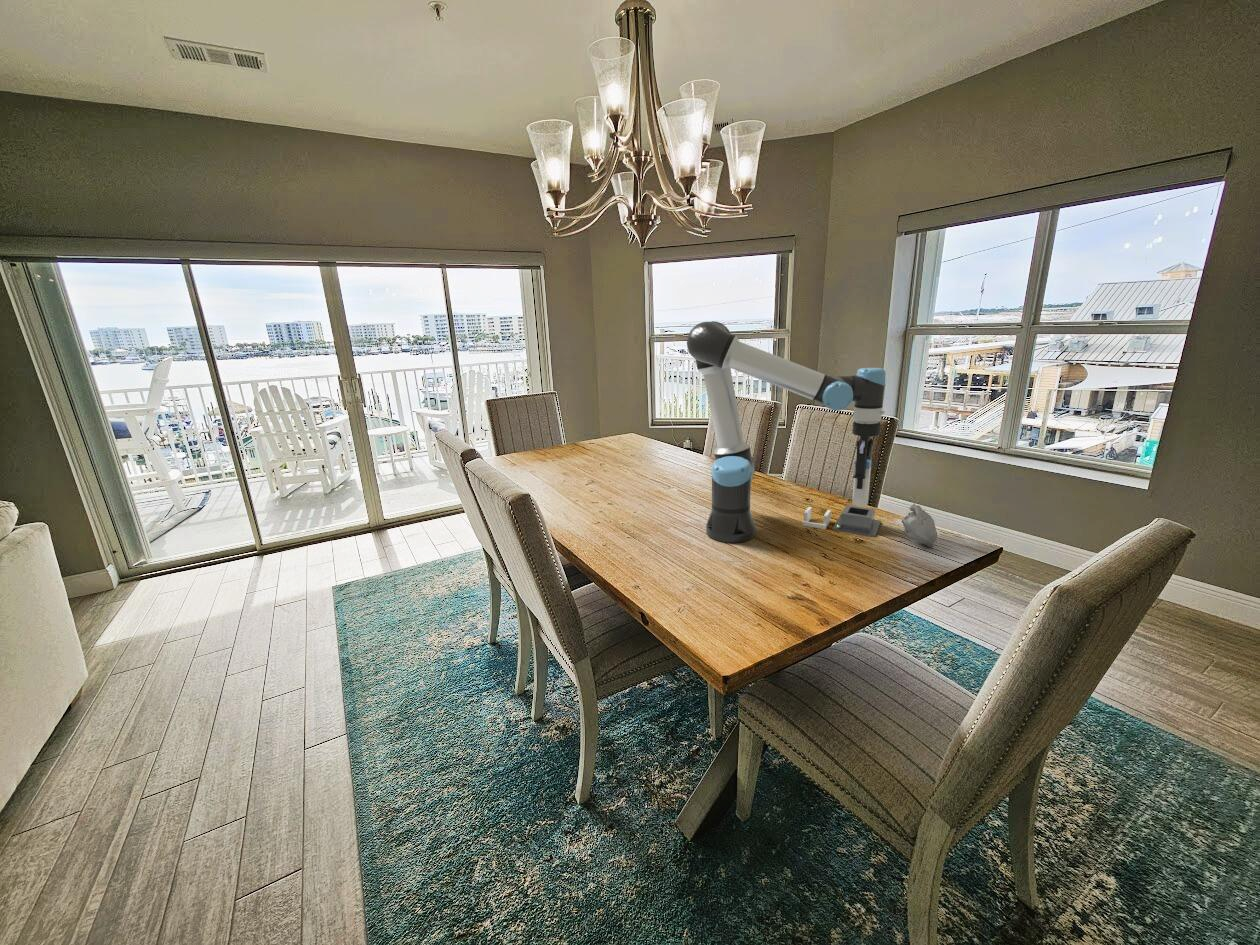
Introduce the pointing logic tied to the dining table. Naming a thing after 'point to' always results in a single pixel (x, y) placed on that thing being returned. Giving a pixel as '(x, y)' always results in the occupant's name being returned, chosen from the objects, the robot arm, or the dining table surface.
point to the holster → (822, 526)
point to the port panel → (857, 521)
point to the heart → (920, 526)
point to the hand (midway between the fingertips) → (860, 495)
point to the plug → (866, 494)
